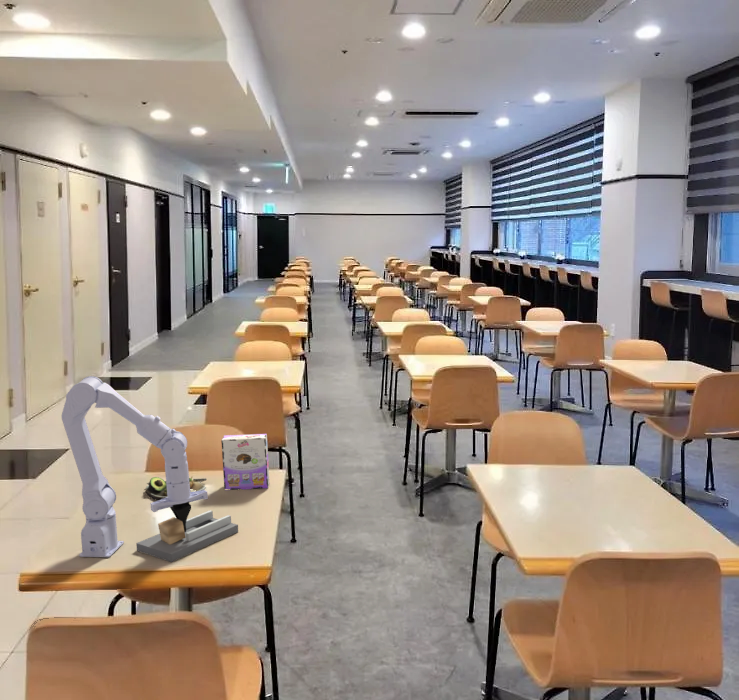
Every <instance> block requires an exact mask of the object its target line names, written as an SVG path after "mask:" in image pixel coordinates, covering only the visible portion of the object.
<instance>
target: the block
mask: <svg viewBox="0 0 739 700" xmlns="http://www.w3.org/2000/svg"><path fill="white" fill-rule="evenodd" d="M157 526H158V530H159V534H160V536H161V540H162V541H164V542H166V543H168V544H173V543H175V542H177V541H179V540H181V539H183V538H186V537H185V532H184V527H183V522H182V521H180V520H179V519H177V518H176V516H172V517H171V518H168V519H166V520H164V521H161V522H159V523H158V524H157Z"/></svg>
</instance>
